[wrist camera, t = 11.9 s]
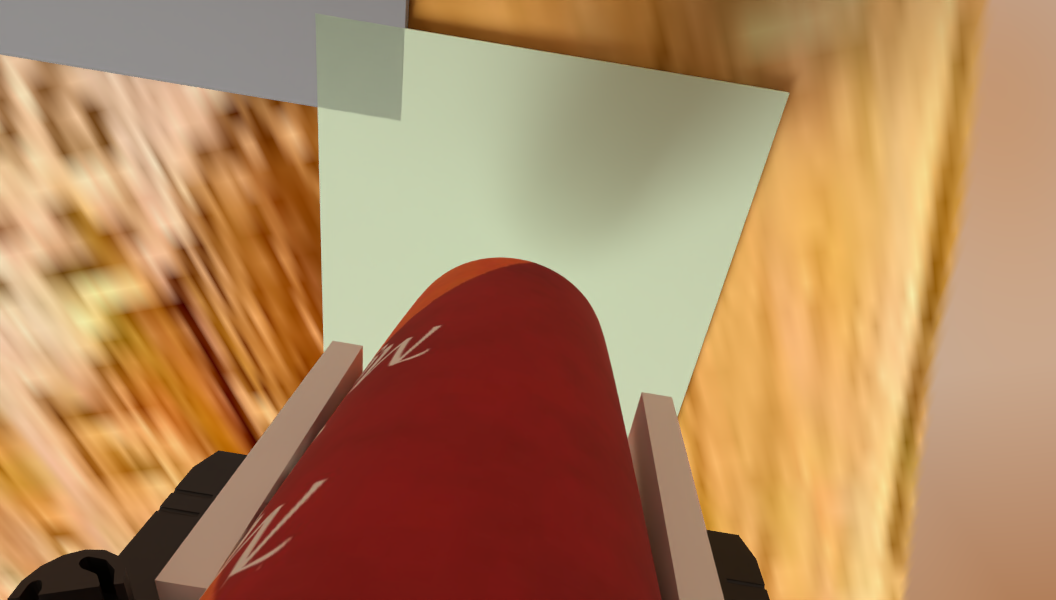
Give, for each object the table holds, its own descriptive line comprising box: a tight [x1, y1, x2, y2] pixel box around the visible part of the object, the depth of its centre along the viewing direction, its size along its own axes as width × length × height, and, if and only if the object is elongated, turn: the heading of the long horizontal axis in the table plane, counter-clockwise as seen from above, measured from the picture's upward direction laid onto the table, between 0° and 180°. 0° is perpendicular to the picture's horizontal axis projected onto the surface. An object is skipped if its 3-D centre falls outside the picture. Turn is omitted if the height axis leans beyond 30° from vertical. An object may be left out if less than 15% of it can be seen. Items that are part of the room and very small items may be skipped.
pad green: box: [315, 13, 789, 438], centre depth 22 cm, size 16×16×1 cm
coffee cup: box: [199, 257, 662, 600], centre depth 10 cm, size 8×8×15 cm
